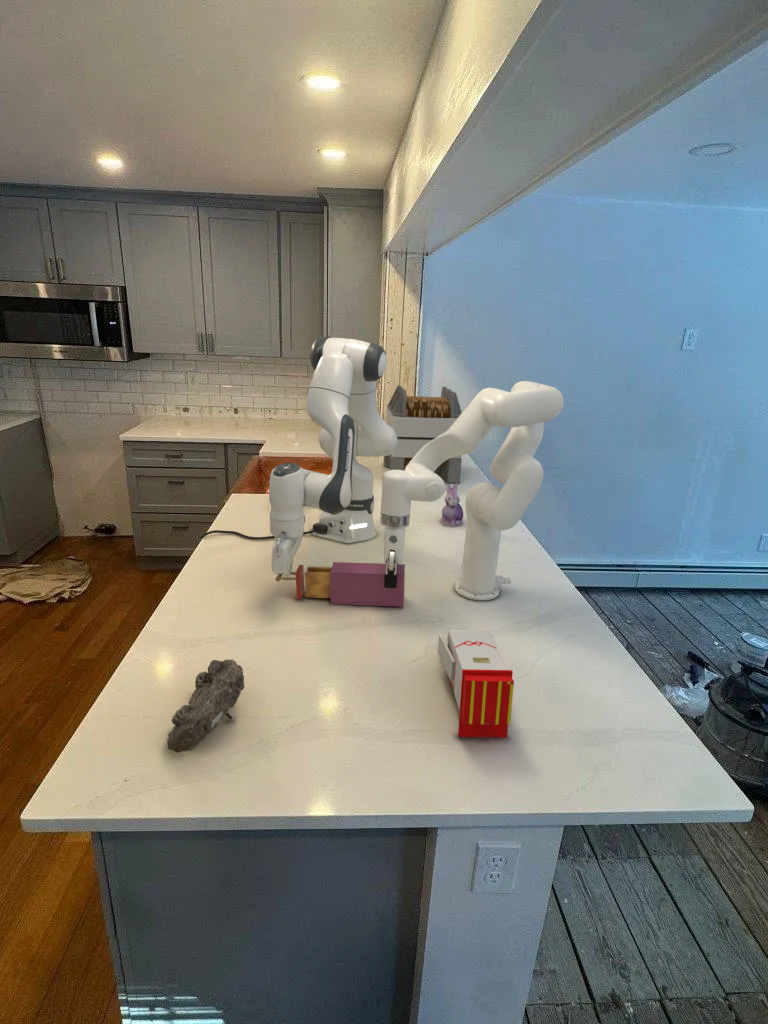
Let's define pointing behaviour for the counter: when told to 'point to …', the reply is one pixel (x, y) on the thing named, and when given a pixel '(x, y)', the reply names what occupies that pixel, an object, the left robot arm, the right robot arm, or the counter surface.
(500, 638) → the counter surface
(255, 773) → the counter surface
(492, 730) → the toy
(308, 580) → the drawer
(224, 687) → the fossil
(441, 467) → the transformer
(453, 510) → the figurine
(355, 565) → the cabinet
